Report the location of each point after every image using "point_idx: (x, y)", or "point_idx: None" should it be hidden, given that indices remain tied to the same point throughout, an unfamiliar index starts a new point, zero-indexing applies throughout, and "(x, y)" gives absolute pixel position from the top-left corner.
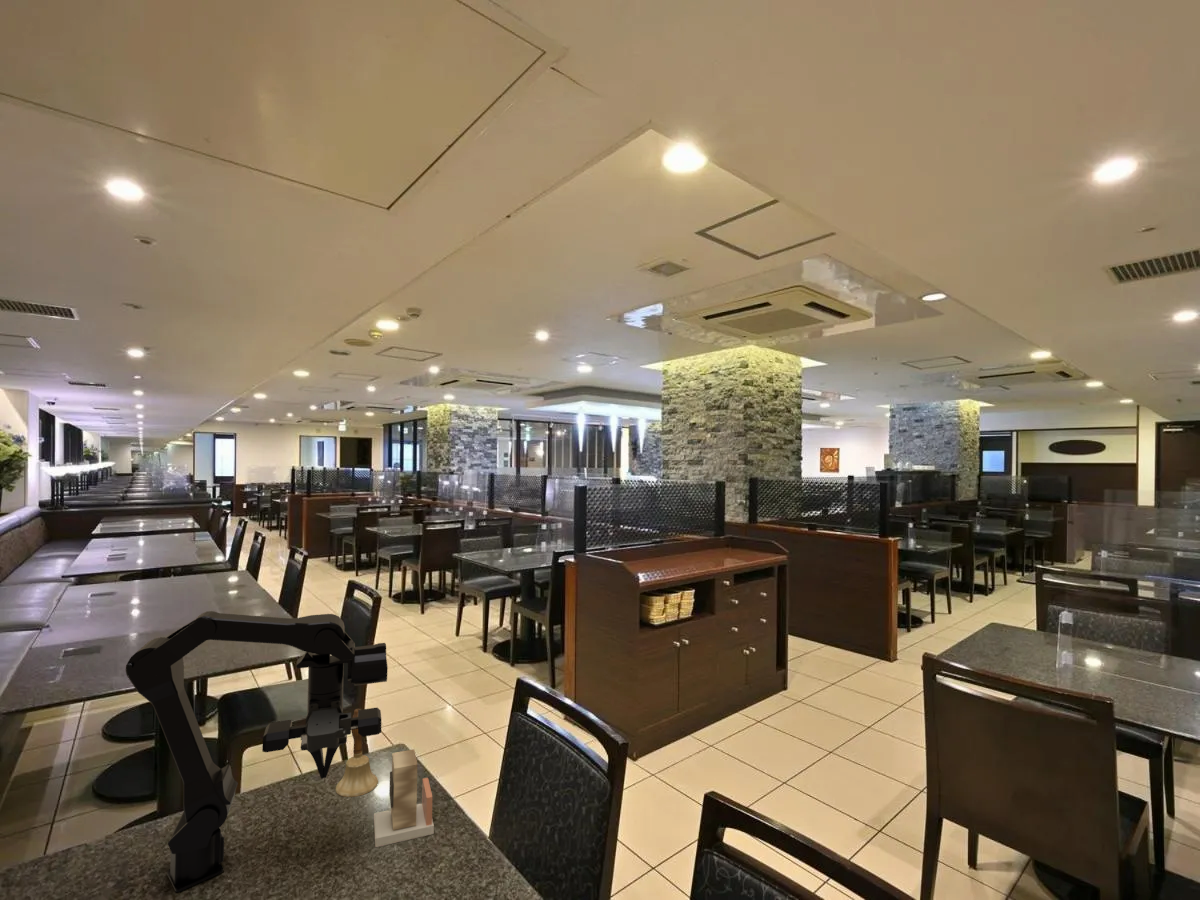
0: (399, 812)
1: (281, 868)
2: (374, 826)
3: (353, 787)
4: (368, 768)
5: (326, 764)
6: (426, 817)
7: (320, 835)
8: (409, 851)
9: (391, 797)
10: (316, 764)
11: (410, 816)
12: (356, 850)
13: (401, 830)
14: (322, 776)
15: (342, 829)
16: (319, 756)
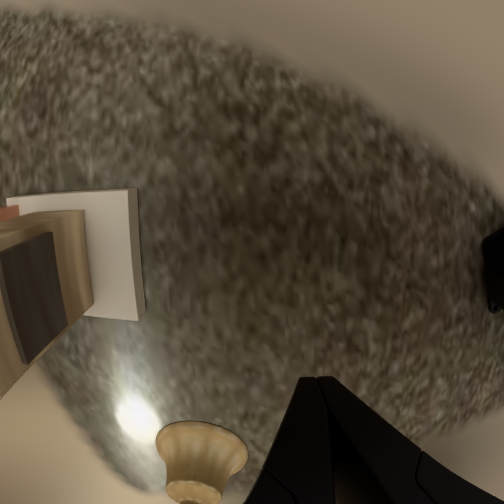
0: (40, 218)
1: (381, 197)
2: (136, 269)
3: (205, 441)
4: (168, 472)
5: (315, 439)
6: (5, 208)
7: (285, 305)
8: (64, 142)
9: (29, 240)
10: (406, 441)
11: (29, 216)
12: (186, 194)
13: (65, 204)
14: (326, 380)
15: (226, 309)
16: (415, 501)
